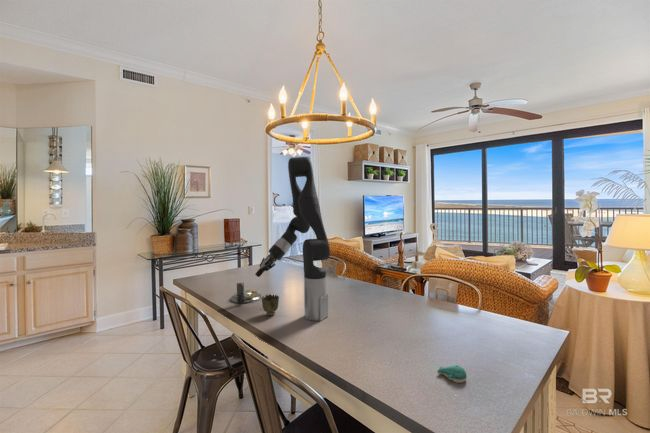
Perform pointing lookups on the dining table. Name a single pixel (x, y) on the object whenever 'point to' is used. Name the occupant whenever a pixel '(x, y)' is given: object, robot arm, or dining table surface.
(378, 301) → the dining table surface
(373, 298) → the dining table surface
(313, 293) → the robot arm
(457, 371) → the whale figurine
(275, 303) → the cup
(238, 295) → the golden ring with handle
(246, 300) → the steel flange
